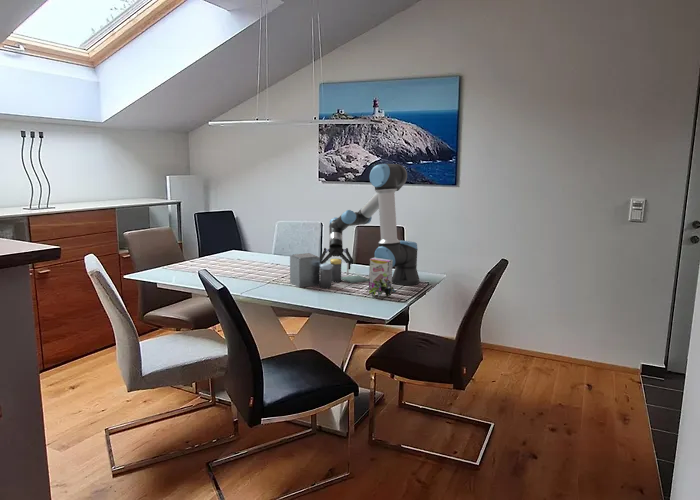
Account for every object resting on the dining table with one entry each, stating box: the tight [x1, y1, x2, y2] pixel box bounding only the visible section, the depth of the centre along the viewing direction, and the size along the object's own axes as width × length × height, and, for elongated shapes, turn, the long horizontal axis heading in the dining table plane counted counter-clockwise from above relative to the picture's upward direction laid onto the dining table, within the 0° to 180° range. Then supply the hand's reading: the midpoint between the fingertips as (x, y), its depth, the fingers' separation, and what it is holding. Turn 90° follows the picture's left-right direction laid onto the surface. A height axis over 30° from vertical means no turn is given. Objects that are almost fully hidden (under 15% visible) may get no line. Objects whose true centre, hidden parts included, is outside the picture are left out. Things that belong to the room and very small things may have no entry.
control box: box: [289, 252, 321, 288], centre depth 278 cm, size 12×12×16 cm
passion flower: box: [367, 279, 397, 300], centre depth 254 cm, size 11×11×12 cm
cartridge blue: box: [319, 262, 332, 289], centre depth 272 cm, size 6×6×12 cm
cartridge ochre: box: [329, 258, 343, 283], centre depth 285 cm, size 6×6×12 cm
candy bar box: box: [368, 257, 393, 292], centre depth 267 cm, size 11×5×16 cm, turn 59°
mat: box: [341, 274, 369, 284], centre depth 290 cm, size 12×12×1 cm
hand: (335, 274), depth 283 cm, fingers open, 12 cm apart
